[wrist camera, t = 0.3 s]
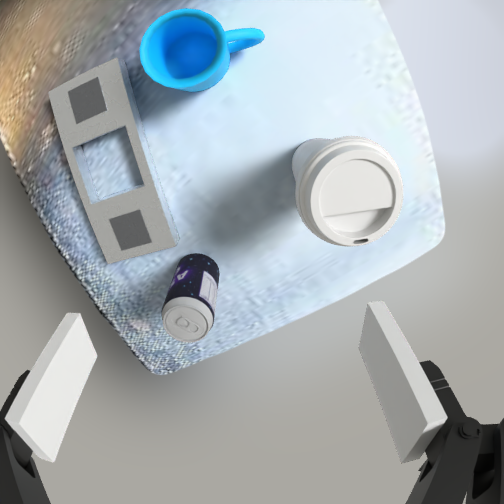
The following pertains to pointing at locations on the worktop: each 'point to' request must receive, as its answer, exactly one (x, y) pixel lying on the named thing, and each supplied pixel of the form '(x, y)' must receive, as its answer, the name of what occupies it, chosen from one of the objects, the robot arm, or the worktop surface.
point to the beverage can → (191, 299)
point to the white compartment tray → (126, 114)
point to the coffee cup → (347, 189)
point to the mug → (191, 49)
